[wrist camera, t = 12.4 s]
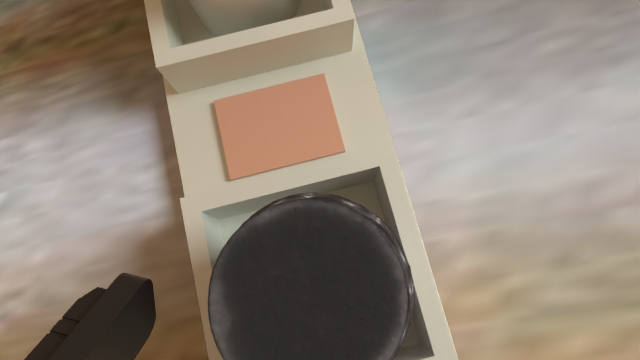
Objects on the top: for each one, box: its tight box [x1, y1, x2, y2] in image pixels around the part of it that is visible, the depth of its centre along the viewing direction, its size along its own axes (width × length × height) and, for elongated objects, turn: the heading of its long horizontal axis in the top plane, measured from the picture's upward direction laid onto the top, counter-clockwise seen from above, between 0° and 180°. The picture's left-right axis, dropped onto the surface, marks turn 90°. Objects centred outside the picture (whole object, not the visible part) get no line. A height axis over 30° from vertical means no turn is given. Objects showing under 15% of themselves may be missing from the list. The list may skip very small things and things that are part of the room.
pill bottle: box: [208, 193, 414, 360], centre depth 15 cm, size 6×6×11 cm
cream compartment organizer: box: [144, 0, 458, 360], centre depth 17 cm, size 27×11×13 cm, turn 14°
